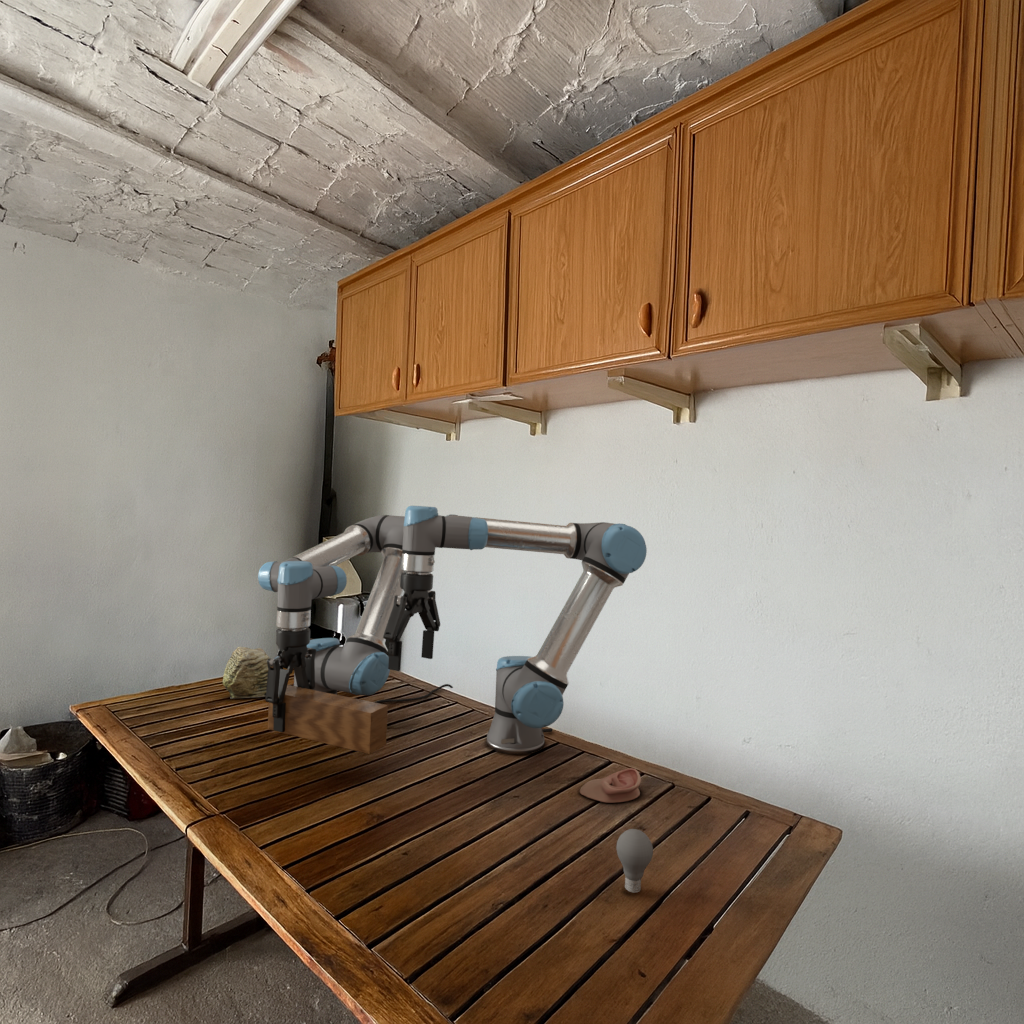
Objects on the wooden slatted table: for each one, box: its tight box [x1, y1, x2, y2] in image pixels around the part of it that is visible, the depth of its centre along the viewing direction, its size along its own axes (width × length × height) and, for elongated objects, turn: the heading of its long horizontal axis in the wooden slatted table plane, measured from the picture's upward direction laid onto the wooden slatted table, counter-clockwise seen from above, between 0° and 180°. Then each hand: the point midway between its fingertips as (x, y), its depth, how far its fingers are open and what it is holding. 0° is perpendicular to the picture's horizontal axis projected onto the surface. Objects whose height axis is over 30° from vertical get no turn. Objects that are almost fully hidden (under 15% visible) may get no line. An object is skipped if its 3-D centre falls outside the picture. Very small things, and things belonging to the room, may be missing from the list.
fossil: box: [222, 646, 272, 699], centre depth 198 cm, size 9×18×15 cm, turn 132°
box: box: [267, 684, 389, 755], centre depth 144 cm, size 29×6×9 cm, turn 66°
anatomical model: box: [579, 767, 642, 804], centre depth 142 cm, size 13×4×12 cm
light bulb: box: [615, 828, 654, 894], centre depth 106 cm, size 6×6×10 cm
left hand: (289, 725), depth 148 cm, fingers closed on box, 6 cm apart
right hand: (411, 663), depth 147 cm, fingers open, 13 cm apart
